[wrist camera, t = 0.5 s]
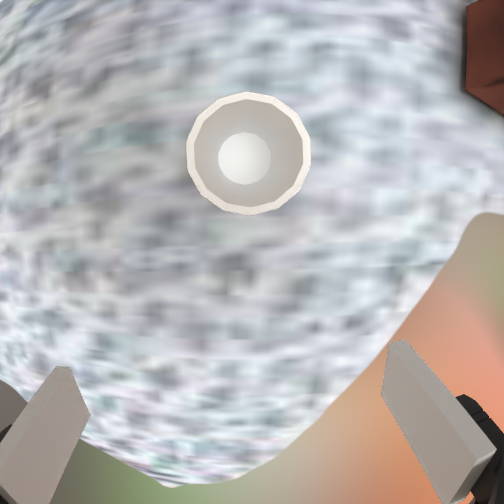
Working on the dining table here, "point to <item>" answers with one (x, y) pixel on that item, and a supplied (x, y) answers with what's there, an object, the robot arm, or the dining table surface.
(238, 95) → the foam cup
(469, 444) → the robot arm
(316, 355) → the dining table surface
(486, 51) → the potted plant
